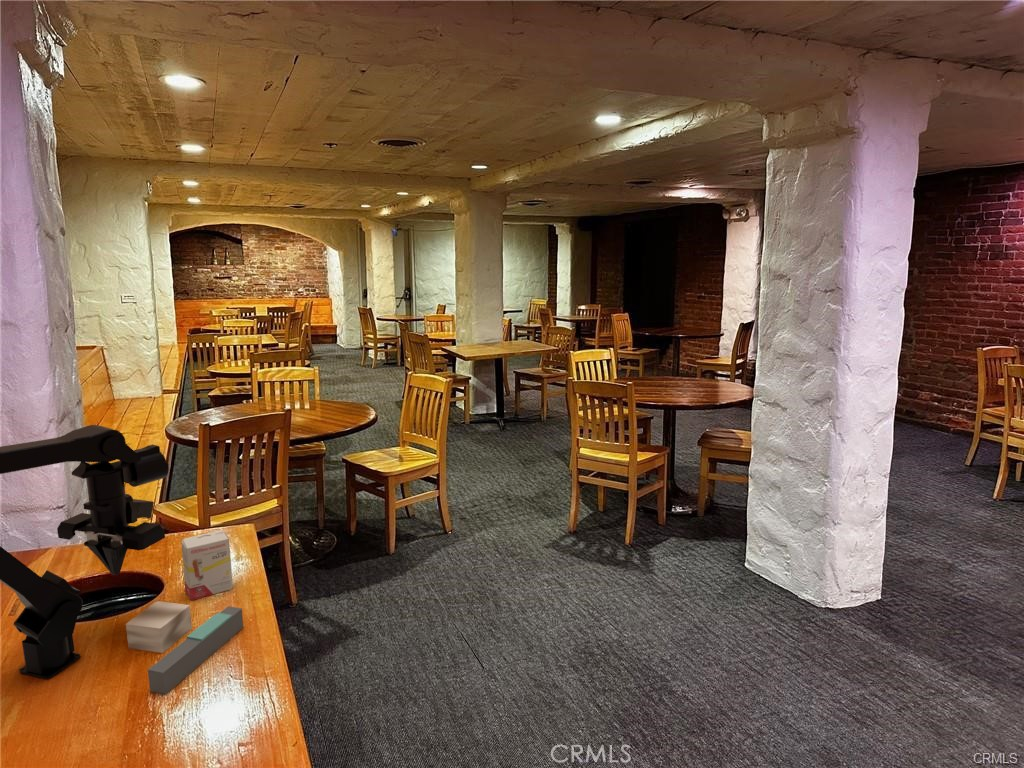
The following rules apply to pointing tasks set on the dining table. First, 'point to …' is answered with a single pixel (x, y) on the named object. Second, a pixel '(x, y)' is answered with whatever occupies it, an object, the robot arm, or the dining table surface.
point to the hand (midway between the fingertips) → (116, 573)
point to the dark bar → (194, 650)
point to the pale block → (158, 626)
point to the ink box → (206, 564)
